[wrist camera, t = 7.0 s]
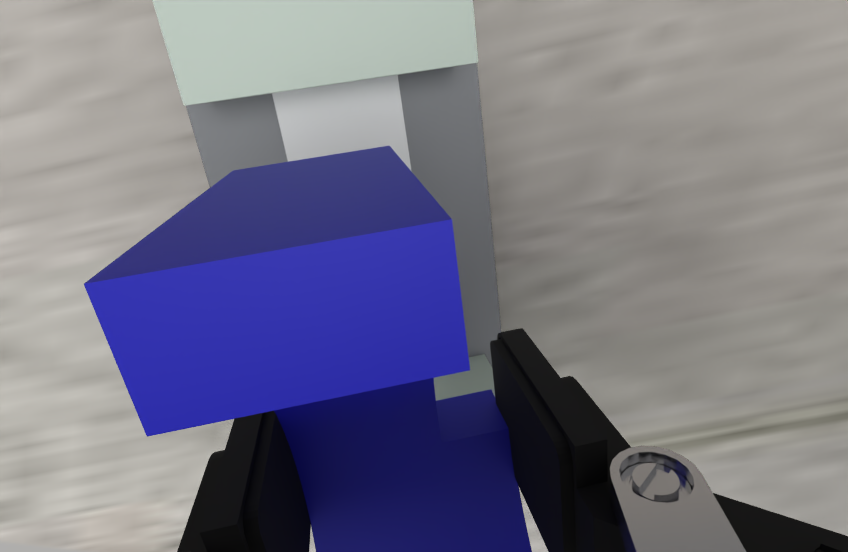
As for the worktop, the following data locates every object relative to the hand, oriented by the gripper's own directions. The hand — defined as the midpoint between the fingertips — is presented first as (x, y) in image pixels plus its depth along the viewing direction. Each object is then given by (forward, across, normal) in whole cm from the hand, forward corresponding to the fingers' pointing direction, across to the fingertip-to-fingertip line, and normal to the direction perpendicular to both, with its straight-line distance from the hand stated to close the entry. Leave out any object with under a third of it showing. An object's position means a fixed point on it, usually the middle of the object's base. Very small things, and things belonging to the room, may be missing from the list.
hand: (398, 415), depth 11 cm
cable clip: (+1, 0, 0) cm, 1 cm away
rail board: (+14, 0, 0) cm, 14 cm away
